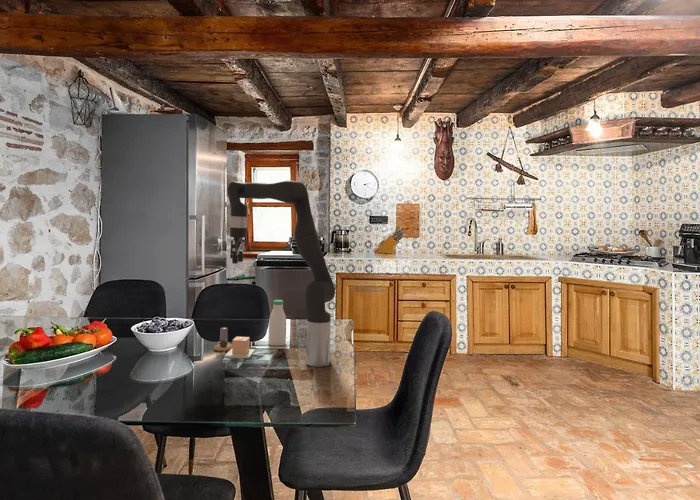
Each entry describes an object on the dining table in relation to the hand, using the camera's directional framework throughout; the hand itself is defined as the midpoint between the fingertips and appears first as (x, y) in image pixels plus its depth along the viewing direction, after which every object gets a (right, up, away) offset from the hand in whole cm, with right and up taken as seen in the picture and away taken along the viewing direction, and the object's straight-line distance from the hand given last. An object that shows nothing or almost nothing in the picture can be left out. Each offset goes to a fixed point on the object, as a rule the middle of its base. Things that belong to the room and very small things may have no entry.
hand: (237, 262), depth 196 cm
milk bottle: (+18, -37, +1) cm, 41 cm away
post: (-4, -37, -9) cm, 38 cm away
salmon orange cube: (+5, -37, -16) cm, 41 cm away
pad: (+5, -38, -16) cm, 41 cm away
